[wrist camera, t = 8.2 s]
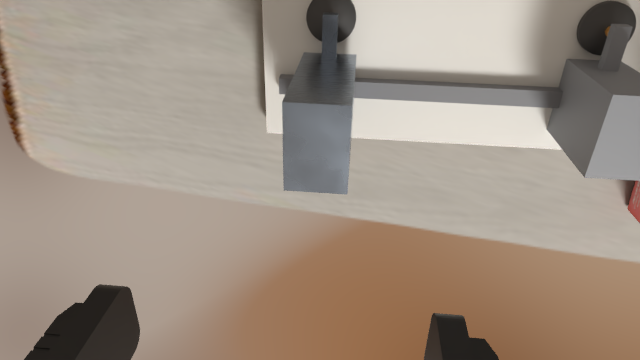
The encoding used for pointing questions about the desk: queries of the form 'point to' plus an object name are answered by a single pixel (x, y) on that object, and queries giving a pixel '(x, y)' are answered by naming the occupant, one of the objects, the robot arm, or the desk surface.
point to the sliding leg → (319, 118)
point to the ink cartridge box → (635, 201)
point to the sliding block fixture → (478, 72)
